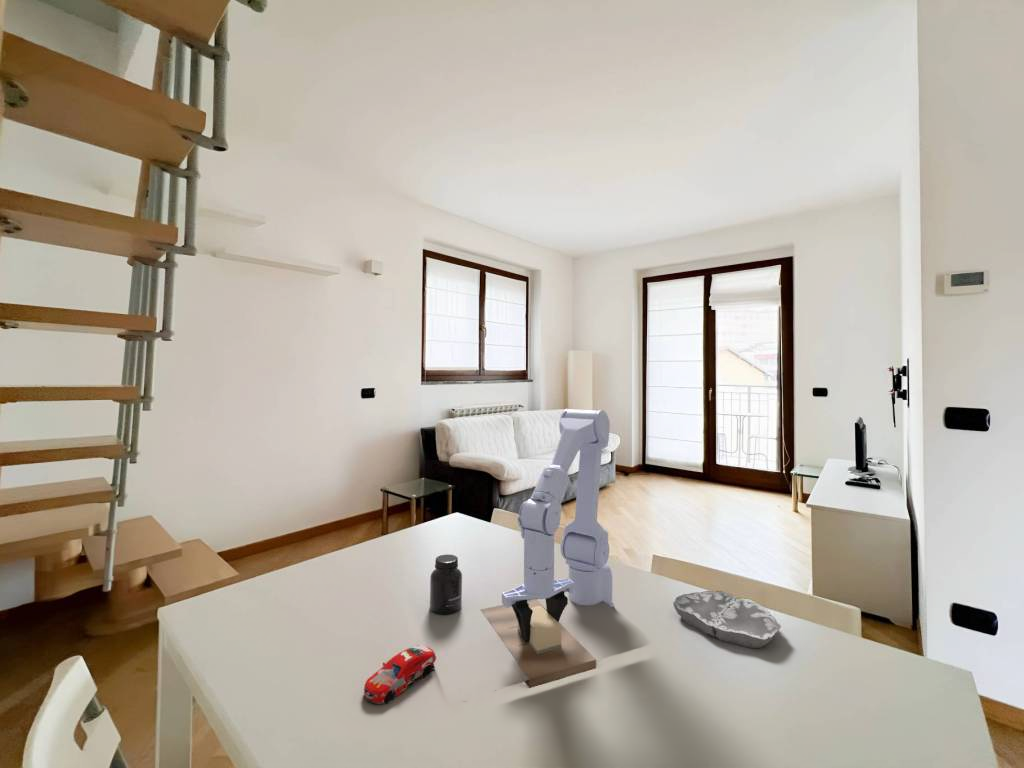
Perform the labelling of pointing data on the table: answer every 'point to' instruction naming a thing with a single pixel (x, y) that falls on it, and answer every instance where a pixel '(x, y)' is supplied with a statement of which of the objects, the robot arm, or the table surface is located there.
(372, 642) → the table surface
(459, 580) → the supplement bottle
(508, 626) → the board
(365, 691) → the race car
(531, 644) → the block
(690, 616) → the brain slice
